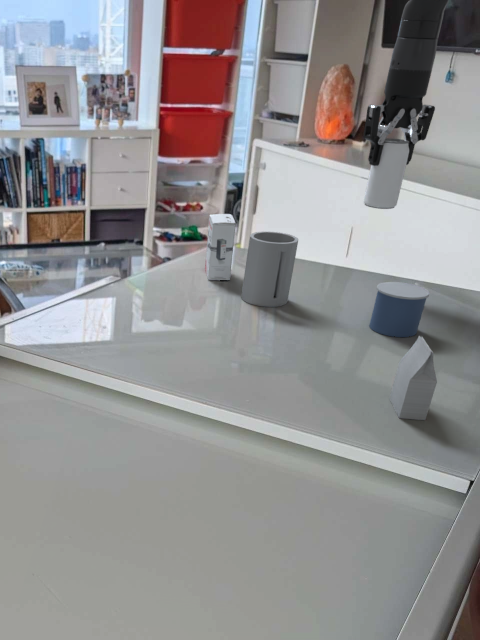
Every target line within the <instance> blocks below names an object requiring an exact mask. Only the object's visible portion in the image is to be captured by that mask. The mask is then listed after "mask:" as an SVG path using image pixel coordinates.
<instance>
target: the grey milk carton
mask: <svg viewBox="0 0 480 640" xmlns="http://www.w3.org/2000/svg"><path fill="white" fill-rule="evenodd" d="M437 384H438V381H437V374H436V370H435V363H434V352H433V350H432V348H431V347H430V346H429V345H428V343H427V342H426V340H425V338H424V337H423V336H421V335H418V337H417V338H416V340H415V342H414V343H413V344H412V346H411V348H409V350H408V351H407V352H406V353H405V354H404V355H403V356H402V358H401V359H400V360H399V361H398V365H397V369H396V373H395V376H394V380H393V383H392V387H391V390H390V394H389V398H388V399H389V400H390V403H391V405H392V407H393V410H395V413H396V415H397V417H398V419H405V420H417V421H426V419H427V417H428V412H429V410H430V406H431V403H432V400H433V397H434V394H435V390H436V388H437Z"/></svg>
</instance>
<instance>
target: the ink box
mask: <svg viewBox="0 0 480 640" xmlns="http://www.w3.org/2000/svg"><path fill="white" fill-rule="evenodd" d="M208 216H209V217H208V226H207V228H208V229H207V240H206V252H205V264H204V270H205V274H206V277H207V280H208V281H220V280H230V281H231V274H232V264H233V254H234V244H235V237H236V236H235V235H236V226H237V225H236V220H235V218H234V216H233V214H230V213H215V214H214V213H213V214H209V215H208Z"/></svg>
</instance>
